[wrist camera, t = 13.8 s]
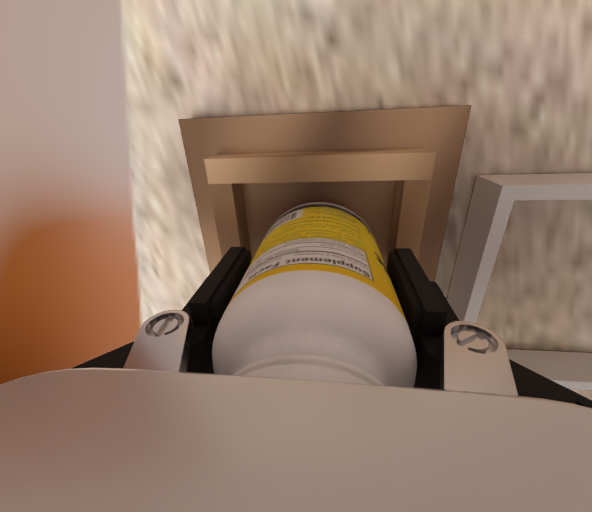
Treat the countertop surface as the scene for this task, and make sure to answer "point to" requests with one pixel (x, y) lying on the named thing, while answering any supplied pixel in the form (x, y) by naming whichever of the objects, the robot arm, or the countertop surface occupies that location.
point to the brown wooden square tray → (327, 174)
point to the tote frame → (484, 249)
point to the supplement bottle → (317, 306)
